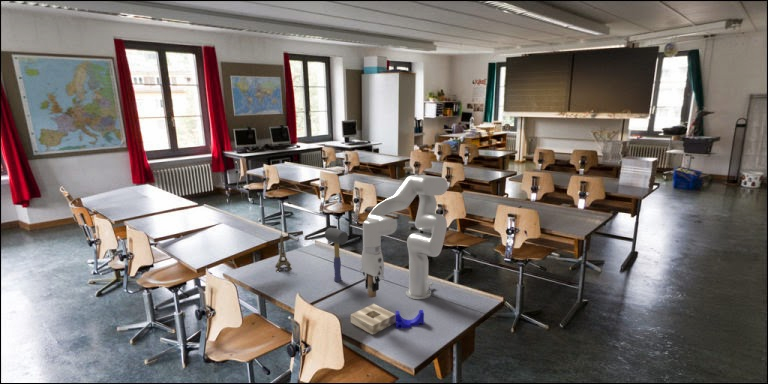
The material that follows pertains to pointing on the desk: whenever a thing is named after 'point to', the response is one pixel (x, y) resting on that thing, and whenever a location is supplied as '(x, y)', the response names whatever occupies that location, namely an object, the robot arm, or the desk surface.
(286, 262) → the eiffel tower
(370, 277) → the peg
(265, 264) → the desk surface
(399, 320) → the blue u-shaped cradle
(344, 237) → the rubber mallet
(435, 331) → the desk surface
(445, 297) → the desk surface
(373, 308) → the board
